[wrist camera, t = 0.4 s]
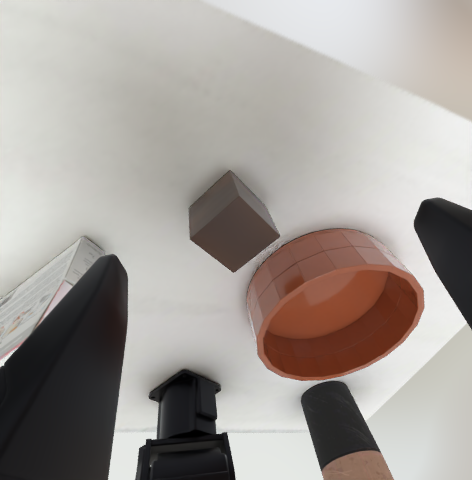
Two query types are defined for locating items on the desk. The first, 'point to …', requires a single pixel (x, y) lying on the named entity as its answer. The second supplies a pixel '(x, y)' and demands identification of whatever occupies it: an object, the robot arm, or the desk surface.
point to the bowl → (331, 305)
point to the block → (231, 223)
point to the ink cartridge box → (42, 293)
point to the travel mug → (342, 435)
